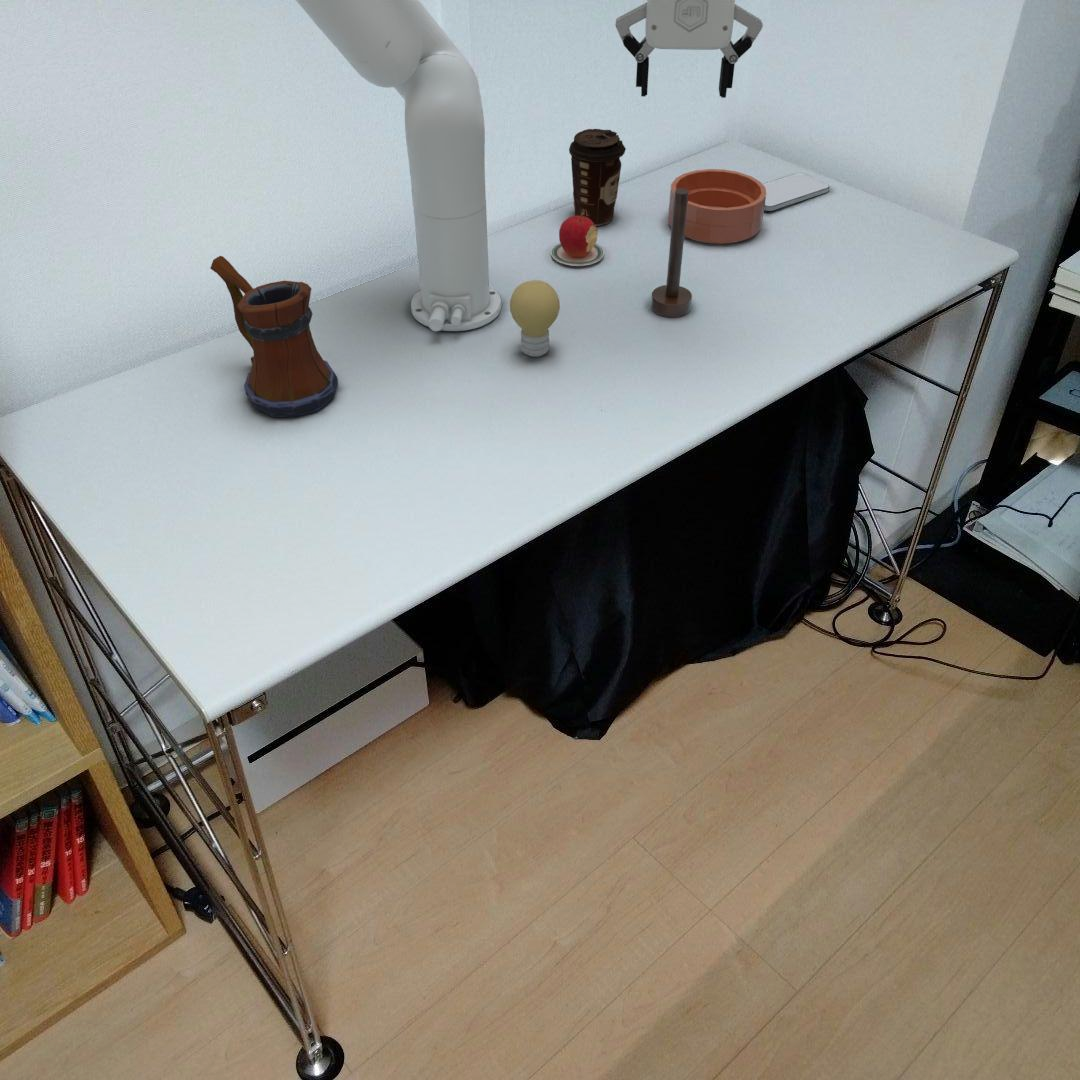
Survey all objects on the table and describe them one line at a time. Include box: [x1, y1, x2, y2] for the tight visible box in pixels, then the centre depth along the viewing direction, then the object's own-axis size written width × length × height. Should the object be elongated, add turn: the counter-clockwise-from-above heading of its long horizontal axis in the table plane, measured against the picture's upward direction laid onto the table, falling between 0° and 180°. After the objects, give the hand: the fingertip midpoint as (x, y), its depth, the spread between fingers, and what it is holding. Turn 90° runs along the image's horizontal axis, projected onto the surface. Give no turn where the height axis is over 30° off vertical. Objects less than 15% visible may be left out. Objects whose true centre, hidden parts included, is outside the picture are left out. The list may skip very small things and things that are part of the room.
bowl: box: [667, 168, 766, 245], centre depth 162 cm, size 15×15×6 cm
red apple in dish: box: [550, 212, 605, 267], centre depth 155 cm, size 8×8×6 cm
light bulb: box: [509, 279, 561, 358], centre depth 134 cm, size 6×6×10 cm
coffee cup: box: [568, 128, 627, 227], centre depth 162 cm, size 9×8×13 cm
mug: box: [210, 255, 339, 418], centre depth 127 cm, size 18×12×15 cm, turn 45°
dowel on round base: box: [650, 188, 693, 319], centre depth 140 cm, size 6×6×17 cm
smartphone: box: [762, 172, 830, 212], centre depth 172 cm, size 7×1×15 cm
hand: (683, 93), depth 128 cm, fingers open, 9 cm apart
